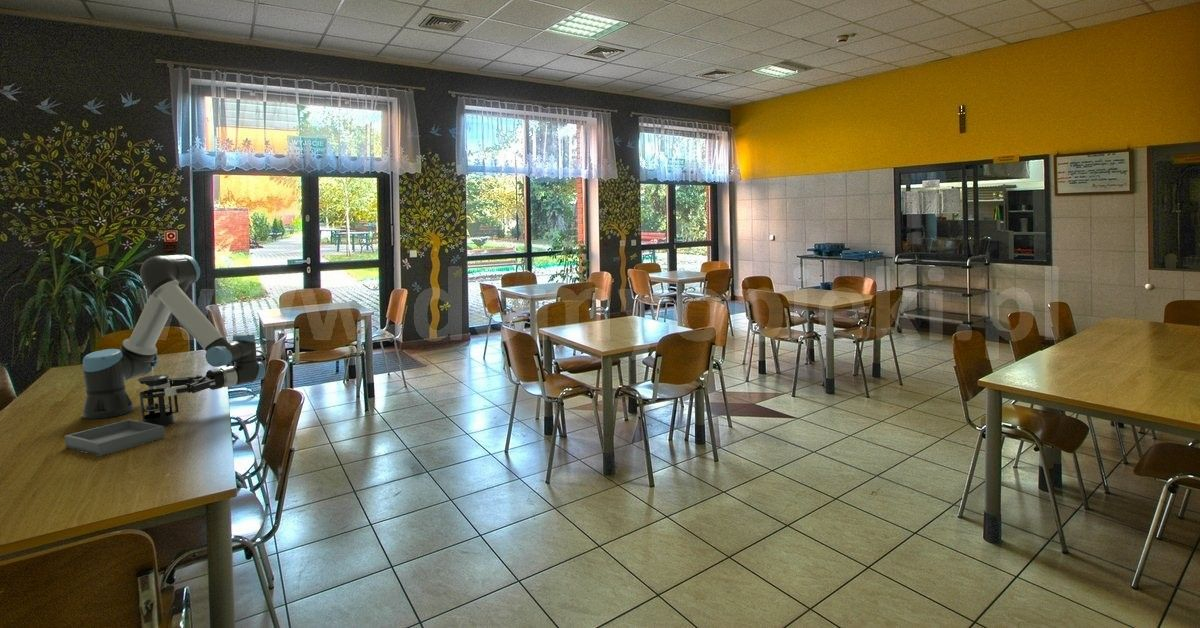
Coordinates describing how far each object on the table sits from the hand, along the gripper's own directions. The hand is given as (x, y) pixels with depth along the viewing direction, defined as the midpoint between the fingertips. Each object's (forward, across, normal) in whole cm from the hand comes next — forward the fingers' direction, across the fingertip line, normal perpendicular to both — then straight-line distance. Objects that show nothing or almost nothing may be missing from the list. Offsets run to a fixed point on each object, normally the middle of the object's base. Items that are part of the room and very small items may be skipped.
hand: (156, 390), depth 222 cm
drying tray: (+16, -10, -12) cm, 23 cm away
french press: (0, 0, -13) cm, 13 cm away
